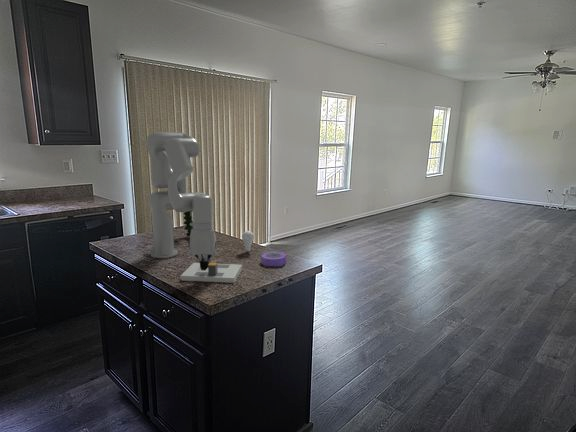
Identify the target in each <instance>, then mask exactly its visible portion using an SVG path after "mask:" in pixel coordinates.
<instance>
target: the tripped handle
mask: <svg viewBox="0 0 576 432" xmlns="http://www.w3.org/2000/svg"><path fill="white" fill-rule="evenodd" d="M217 264H218V262H213V261H211V262H210V263H209V264H208V275H216V274H217V273H218V268H217Z"/></svg>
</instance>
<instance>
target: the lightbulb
mask: <svg viewBox="0 0 576 432" xmlns="http://www.w3.org/2000/svg"><path fill="white" fill-rule="evenodd" d="M241 239H242V242H243V243H244V248H245V249H244V250H245V251H246V252H248V253H249V252H250V251H251V247H252V243H253V241H254V239H255V234H254V233H253V232H252V231H250V230H245V231H244V232H242V235H241Z"/></svg>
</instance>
